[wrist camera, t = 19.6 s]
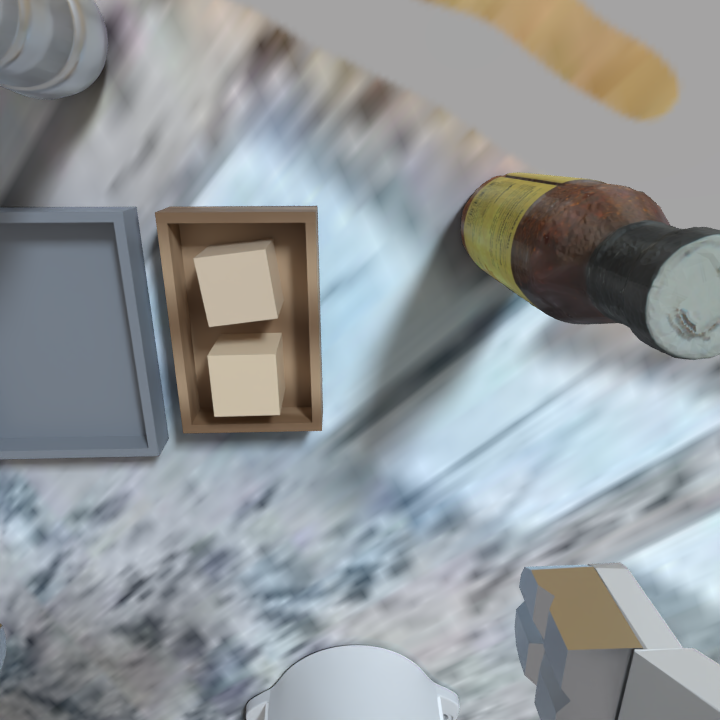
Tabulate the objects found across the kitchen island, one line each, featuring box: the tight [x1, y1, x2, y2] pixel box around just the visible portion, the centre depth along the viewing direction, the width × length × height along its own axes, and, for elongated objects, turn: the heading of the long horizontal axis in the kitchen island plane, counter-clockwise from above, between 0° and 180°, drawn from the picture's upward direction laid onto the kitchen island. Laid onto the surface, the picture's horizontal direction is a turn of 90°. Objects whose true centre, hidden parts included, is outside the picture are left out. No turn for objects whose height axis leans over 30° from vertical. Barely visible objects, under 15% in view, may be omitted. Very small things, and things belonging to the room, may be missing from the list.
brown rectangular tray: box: [155, 206, 323, 433], centre depth 36 cm, size 14×9×3 cm, turn 0°
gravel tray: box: [0, 207, 169, 459], centre depth 36 cm, size 16×12×2 cm
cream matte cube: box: [207, 333, 285, 417], centre depth 36 cm, size 4×4×4 cm
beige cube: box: [193, 238, 284, 327], centre depth 34 cm, size 4×4×4 cm
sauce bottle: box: [461, 173, 720, 360], centre depth 26 cm, size 6×6×20 cm
